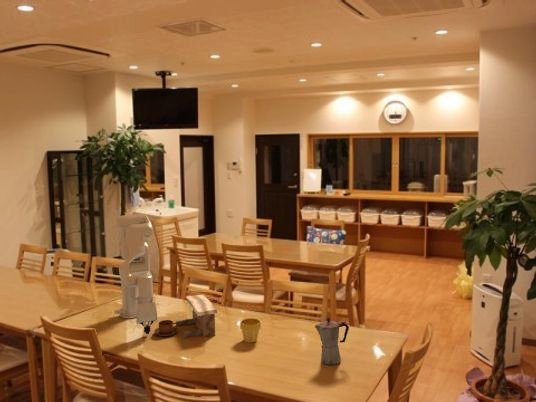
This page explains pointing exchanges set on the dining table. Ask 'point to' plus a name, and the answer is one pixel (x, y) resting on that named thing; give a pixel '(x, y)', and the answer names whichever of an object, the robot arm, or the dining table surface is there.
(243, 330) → the plant pot
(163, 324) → the cup and saucer
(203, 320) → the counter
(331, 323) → the moka pot
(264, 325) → the dining table surface
